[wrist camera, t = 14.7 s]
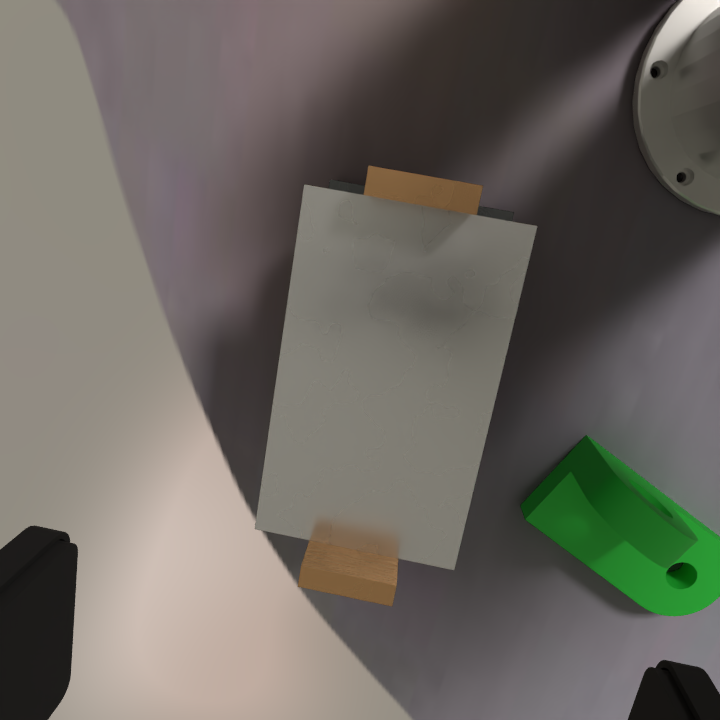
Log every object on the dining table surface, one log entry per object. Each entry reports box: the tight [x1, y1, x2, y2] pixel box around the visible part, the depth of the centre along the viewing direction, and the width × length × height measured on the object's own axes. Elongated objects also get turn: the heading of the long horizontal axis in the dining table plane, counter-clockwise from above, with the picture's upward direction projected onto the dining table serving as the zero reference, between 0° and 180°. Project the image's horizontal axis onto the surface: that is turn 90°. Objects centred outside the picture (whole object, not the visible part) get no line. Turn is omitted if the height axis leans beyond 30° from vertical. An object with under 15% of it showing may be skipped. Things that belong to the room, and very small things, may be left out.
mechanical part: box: [520, 435, 720, 616], centre depth 34 cm, size 12×6×8 cm, turn 53°
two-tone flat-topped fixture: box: [255, 166, 537, 606], centre depth 30 cm, size 10×17×14 cm, turn 170°
